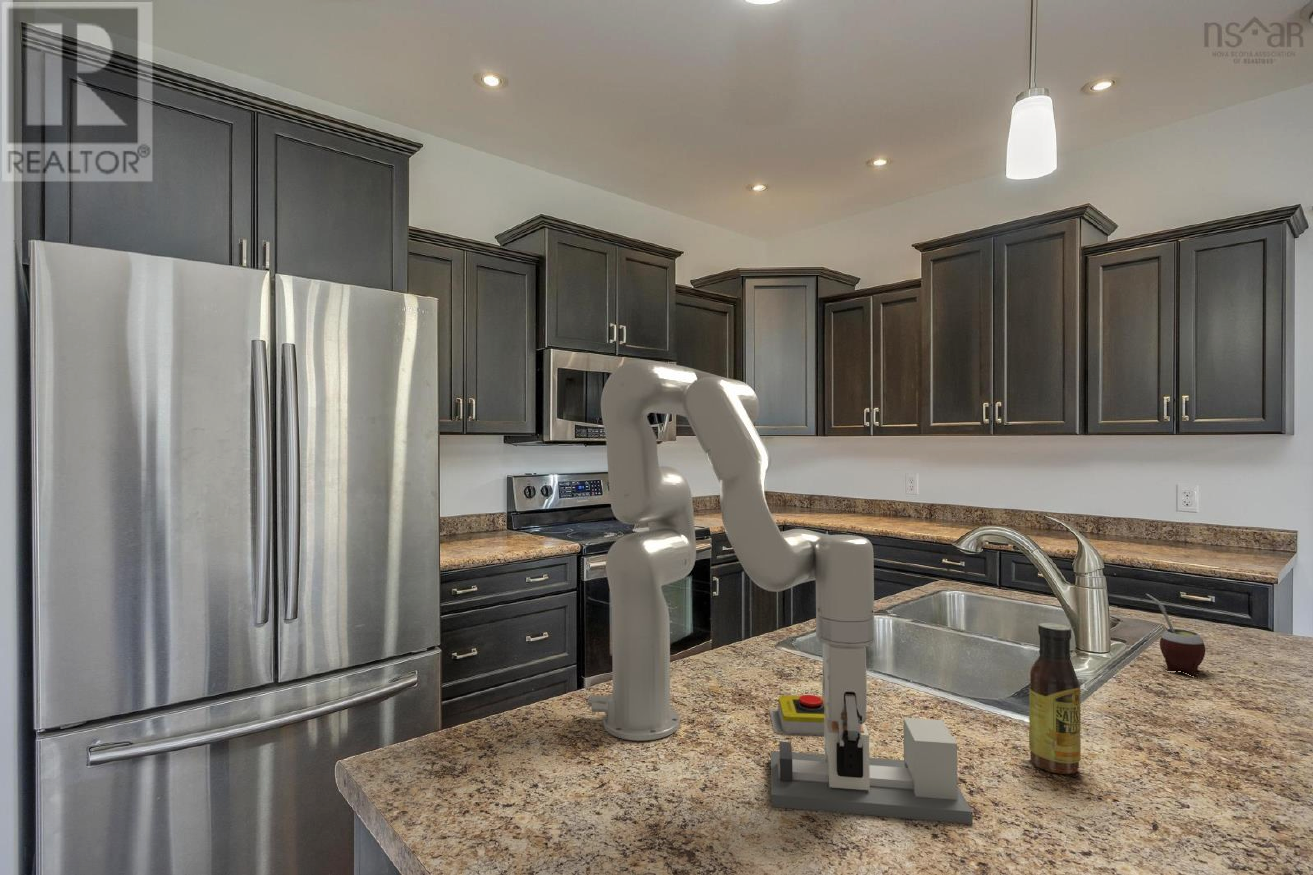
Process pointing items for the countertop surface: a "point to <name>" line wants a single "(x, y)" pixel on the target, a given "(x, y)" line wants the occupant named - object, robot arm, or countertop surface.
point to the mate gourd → (1181, 647)
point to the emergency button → (799, 715)
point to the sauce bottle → (1054, 704)
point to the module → (831, 757)
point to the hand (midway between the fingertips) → (846, 759)
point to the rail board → (880, 780)
